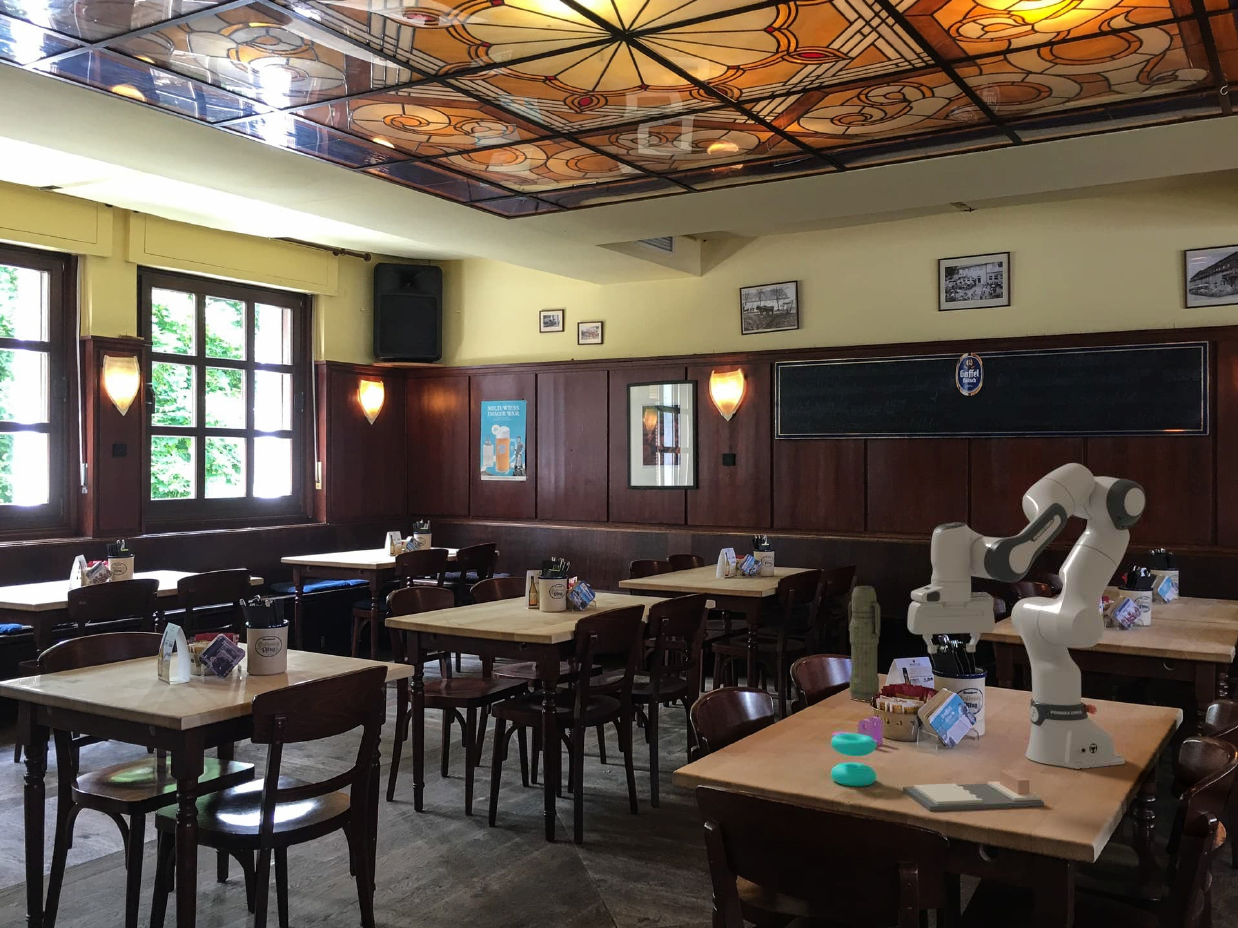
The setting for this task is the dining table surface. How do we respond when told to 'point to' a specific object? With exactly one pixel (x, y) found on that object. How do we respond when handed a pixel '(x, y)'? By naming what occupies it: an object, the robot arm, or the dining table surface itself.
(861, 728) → the bracket
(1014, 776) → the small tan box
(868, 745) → the donuts
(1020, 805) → the pad
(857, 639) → the thermos
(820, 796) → the dining table surface
